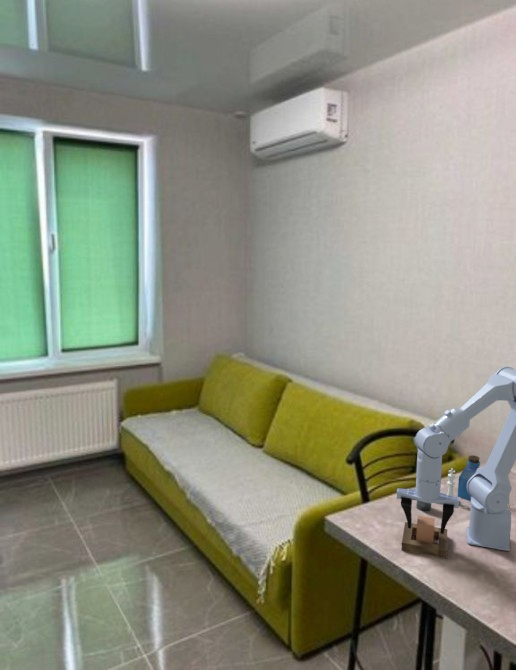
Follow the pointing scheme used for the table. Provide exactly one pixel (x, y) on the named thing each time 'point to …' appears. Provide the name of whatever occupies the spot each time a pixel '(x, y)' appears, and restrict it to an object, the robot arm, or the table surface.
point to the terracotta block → (425, 529)
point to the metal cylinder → (423, 506)
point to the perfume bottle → (467, 476)
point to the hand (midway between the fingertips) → (425, 529)
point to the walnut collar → (424, 547)
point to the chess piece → (451, 482)
